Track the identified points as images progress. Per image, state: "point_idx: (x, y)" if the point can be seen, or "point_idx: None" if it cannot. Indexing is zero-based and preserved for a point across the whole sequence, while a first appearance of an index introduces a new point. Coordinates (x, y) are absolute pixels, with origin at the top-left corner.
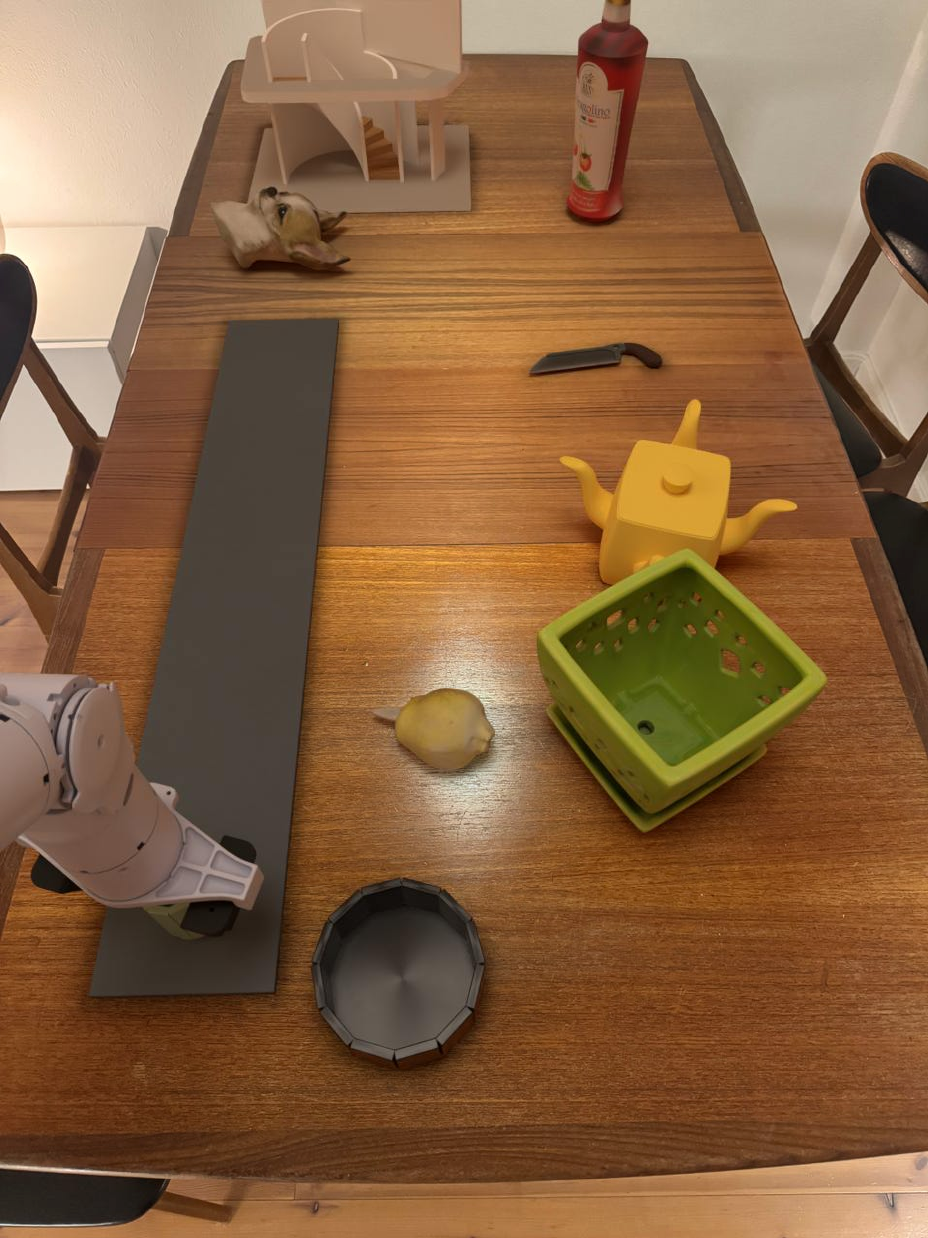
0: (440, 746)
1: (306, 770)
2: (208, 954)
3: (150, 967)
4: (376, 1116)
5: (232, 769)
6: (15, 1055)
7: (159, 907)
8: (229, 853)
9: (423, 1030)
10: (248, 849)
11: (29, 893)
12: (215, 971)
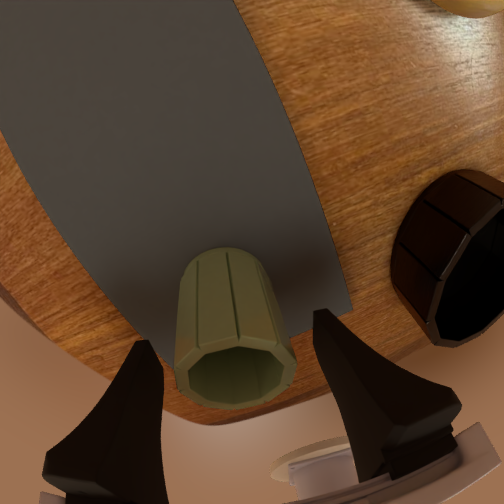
0: (496, 5)
1: (266, 34)
2: None
3: None
4: None
5: (145, 86)
6: None
7: (248, 402)
8: (463, 489)
9: (467, 272)
10: (451, 411)
11: (56, 331)
12: (287, 323)
